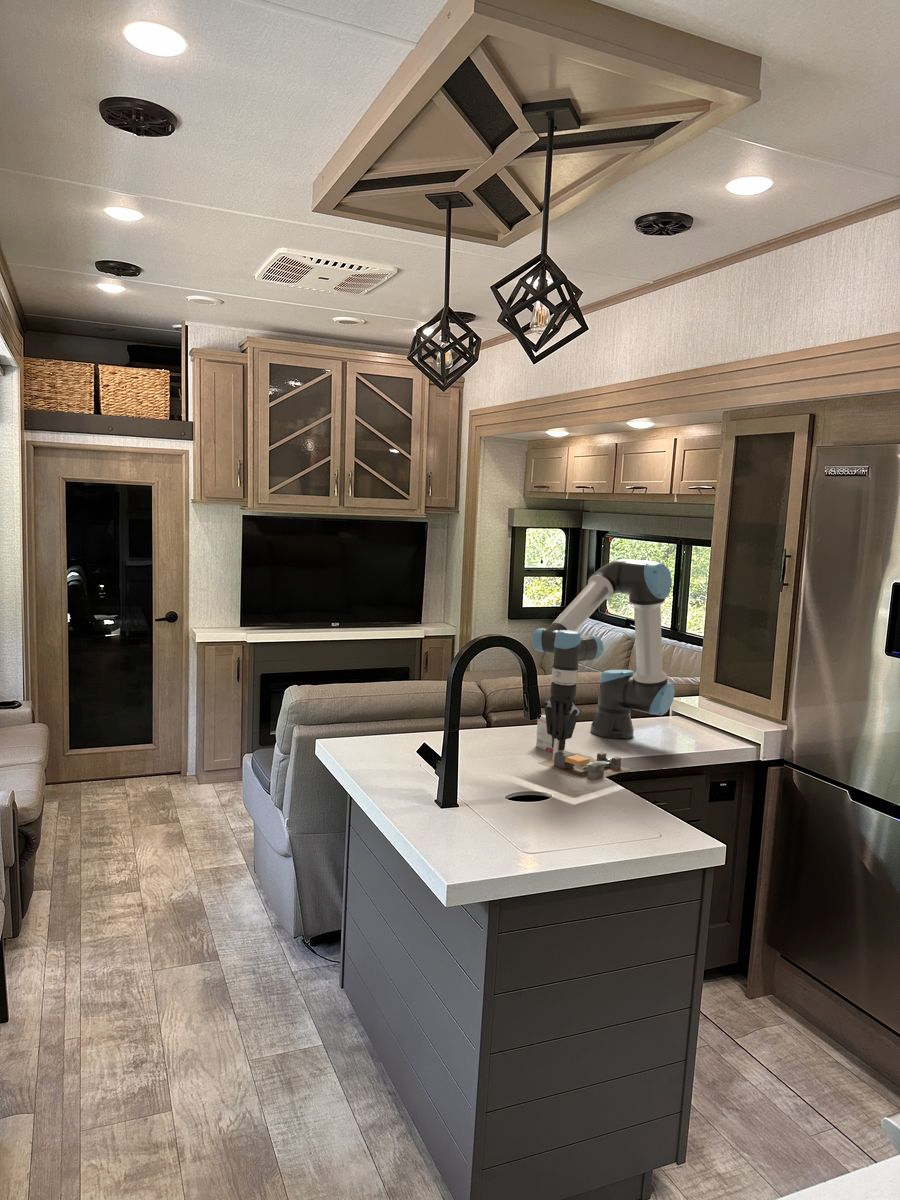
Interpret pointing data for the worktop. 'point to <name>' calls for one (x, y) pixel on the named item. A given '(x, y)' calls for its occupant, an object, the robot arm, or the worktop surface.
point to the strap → (606, 762)
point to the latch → (569, 760)
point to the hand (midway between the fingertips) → (557, 759)
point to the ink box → (543, 735)
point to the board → (583, 773)
